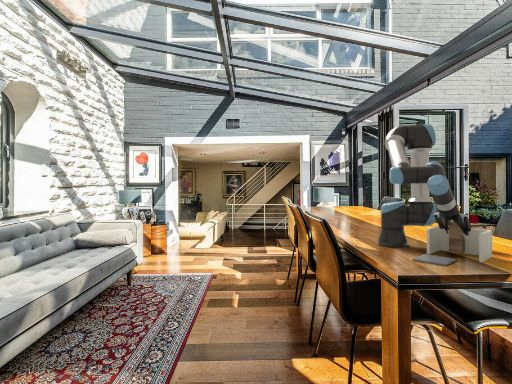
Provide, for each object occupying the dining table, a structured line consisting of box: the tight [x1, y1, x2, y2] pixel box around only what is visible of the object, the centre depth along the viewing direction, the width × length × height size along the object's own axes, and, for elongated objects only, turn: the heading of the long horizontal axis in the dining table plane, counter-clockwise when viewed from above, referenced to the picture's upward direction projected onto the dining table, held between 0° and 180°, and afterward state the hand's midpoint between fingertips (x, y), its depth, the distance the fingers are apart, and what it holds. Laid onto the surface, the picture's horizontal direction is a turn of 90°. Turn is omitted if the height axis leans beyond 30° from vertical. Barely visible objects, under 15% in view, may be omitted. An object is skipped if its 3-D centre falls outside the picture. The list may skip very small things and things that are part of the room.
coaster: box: [411, 253, 457, 267], centre depth 140 cm, size 13×13×1 cm
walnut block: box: [448, 220, 465, 255], centre depth 147 cm, size 5×5×14 cm
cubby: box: [426, 225, 493, 263], centre depth 148 cm, size 14×22×12 cm, turn 40°
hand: (459, 237), depth 149 cm, fingers closed on walnut block, 5 cm apart
